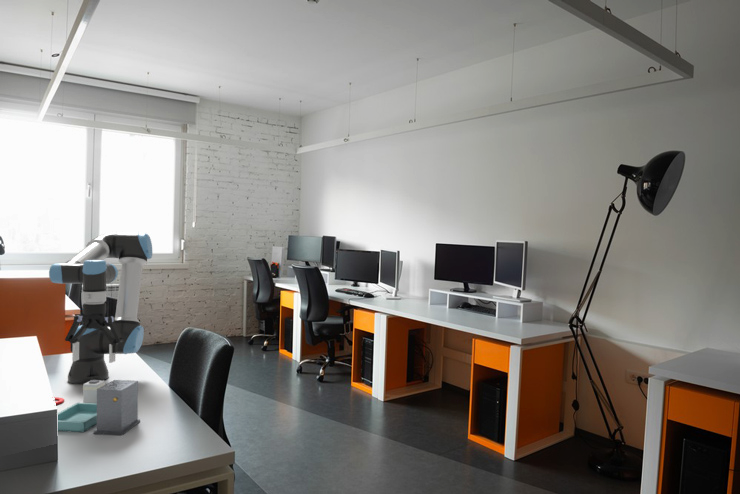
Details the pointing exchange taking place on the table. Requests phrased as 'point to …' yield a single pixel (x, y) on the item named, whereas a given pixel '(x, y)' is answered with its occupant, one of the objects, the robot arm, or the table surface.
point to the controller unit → (117, 407)
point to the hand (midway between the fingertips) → (93, 361)
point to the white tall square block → (91, 390)
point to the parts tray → (78, 417)
